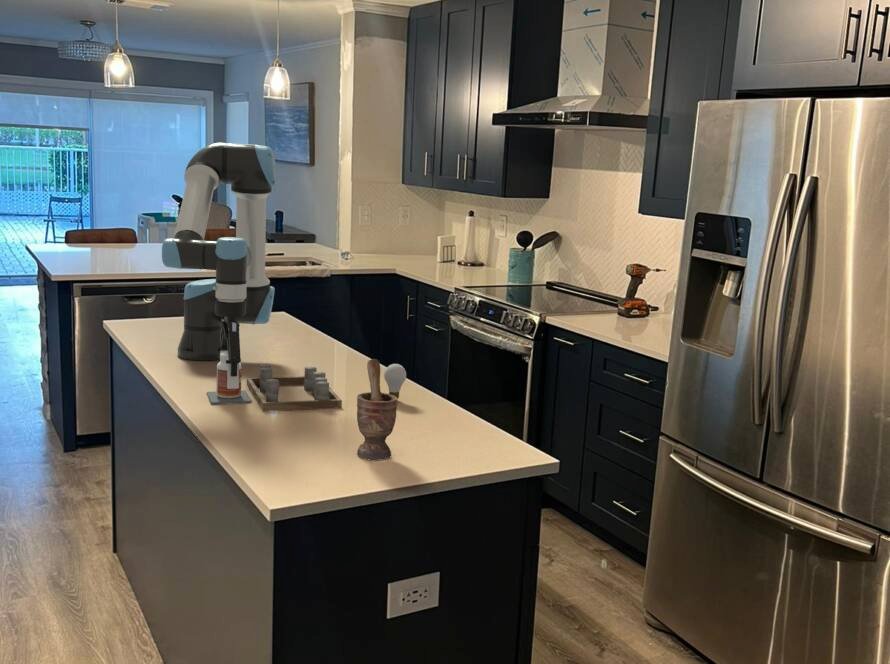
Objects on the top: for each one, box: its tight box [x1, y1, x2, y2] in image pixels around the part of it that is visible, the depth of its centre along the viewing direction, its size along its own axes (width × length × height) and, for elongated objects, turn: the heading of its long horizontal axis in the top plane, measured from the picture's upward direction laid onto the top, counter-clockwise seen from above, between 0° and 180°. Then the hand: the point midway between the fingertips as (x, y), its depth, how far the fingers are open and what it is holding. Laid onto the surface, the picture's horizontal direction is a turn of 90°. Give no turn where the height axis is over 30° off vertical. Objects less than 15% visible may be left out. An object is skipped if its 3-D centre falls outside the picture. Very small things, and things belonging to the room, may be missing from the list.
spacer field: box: [246, 363, 343, 412], centre depth 230 cm, size 25×20×6 cm
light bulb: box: [383, 363, 407, 400], centre depth 232 cm, size 6×6×10 cm
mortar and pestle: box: [356, 358, 398, 461], centre depth 189 cm, size 12×9×20 cm
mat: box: [206, 390, 253, 406], centre depth 225 cm, size 10×10×1 cm
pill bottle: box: [216, 352, 243, 399], centre depth 224 cm, size 6×6×11 cm
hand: (229, 381), depth 224 cm, fingers open, 13 cm apart
